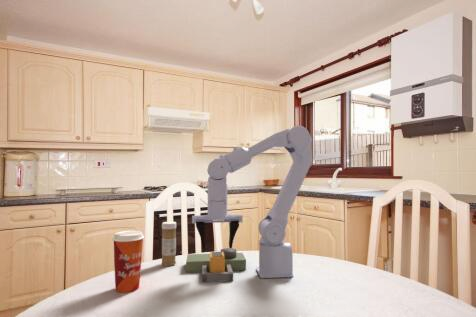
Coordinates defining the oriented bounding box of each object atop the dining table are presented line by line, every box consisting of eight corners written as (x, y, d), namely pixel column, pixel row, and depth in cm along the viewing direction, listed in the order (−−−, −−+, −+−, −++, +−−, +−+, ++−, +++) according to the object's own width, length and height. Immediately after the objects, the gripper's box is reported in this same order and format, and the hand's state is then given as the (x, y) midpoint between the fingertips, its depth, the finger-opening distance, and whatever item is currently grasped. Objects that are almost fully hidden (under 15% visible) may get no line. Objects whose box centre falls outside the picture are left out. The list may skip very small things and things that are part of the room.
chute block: (223, 272, 87) (223, 251, 87) (224, 278, 82) (224, 256, 82) (209, 272, 87) (209, 251, 87) (210, 279, 81) (210, 256, 82)
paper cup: (119, 297, 69) (121, 237, 70) (105, 288, 74) (107, 233, 75) (149, 288, 75) (150, 232, 75) (134, 280, 80) (135, 228, 80)
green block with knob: (242, 261, 97) (242, 246, 97) (250, 280, 80) (250, 261, 81) (187, 263, 95) (187, 248, 95) (184, 282, 78) (184, 263, 79)
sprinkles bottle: (171, 261, 97) (172, 220, 98) (178, 264, 94) (179, 222, 94) (158, 264, 94) (159, 222, 95) (165, 267, 91) (165, 223, 92)
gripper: (191, 202, 81) (191, 252, 80) (243, 201, 82) (244, 250, 82) (192, 199, 88) (192, 245, 87) (240, 199, 89) (240, 244, 89)
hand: (217, 247), depth 85 cm, fingers open, 7 cm apart
